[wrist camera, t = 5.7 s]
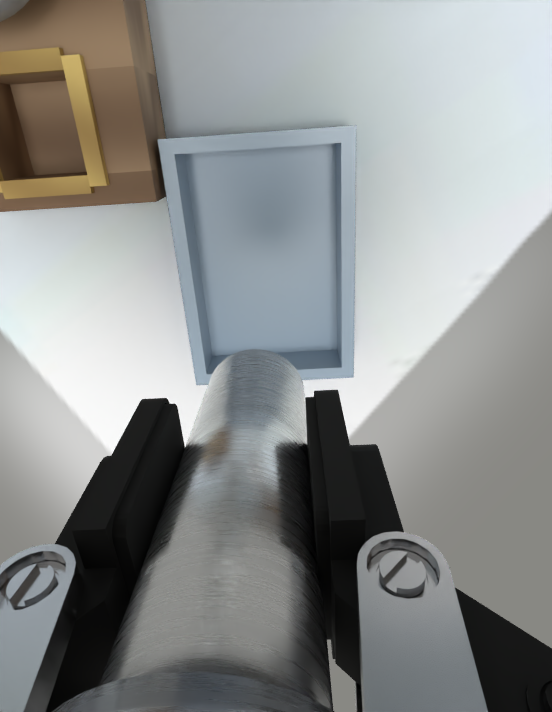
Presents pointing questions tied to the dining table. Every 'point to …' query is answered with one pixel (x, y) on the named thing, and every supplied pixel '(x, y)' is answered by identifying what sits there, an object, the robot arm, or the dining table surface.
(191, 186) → the tray
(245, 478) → the lock pin
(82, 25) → the block
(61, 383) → the dining table surface
